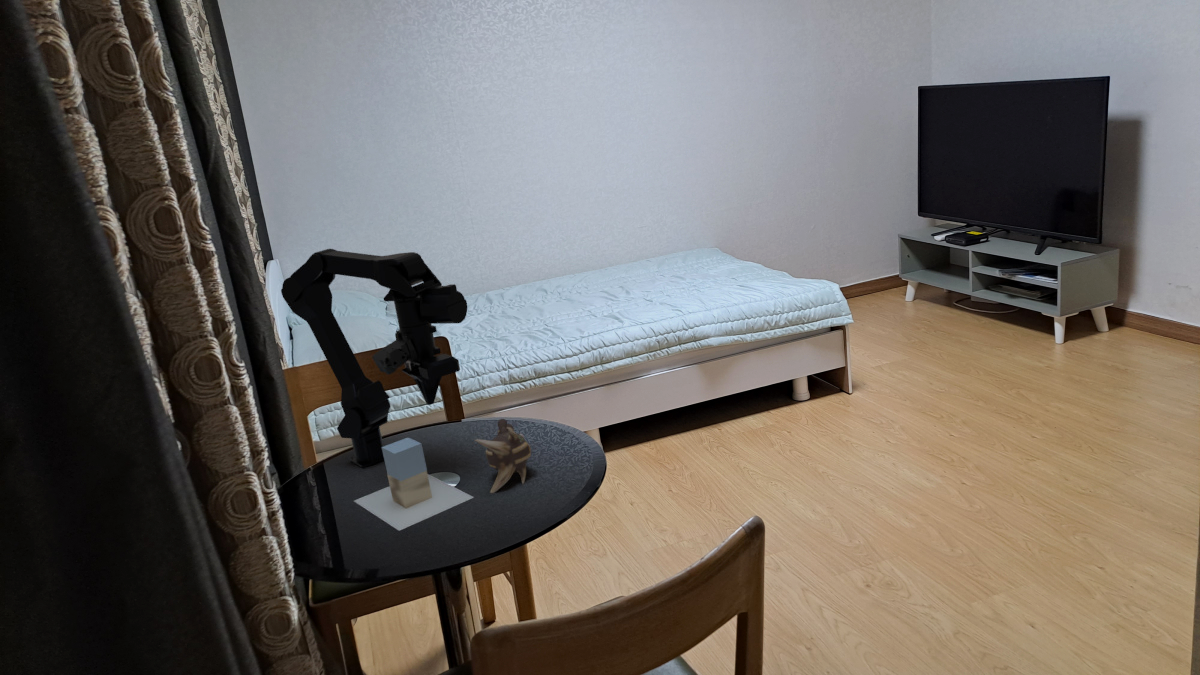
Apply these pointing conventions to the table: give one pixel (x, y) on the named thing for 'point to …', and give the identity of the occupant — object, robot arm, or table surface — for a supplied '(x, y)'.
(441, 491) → the board
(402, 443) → the blue block
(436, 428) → the table surface
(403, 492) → the maple block
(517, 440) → the toy
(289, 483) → the table surface
